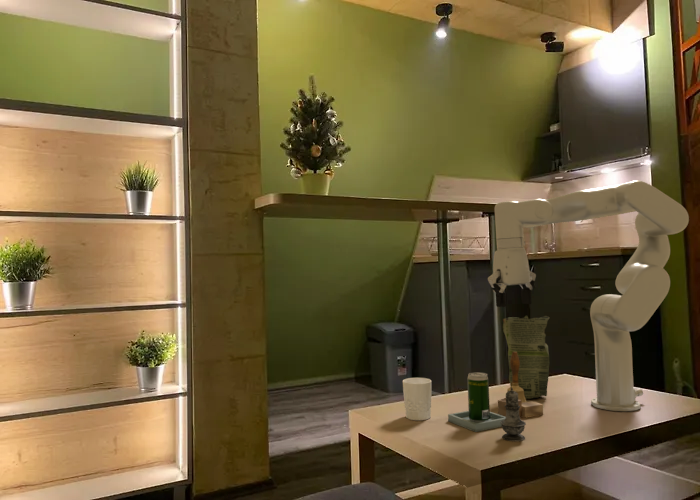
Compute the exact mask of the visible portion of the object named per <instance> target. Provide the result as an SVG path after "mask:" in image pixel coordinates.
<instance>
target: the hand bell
mask: <svg viewBox="0 0 700 500" xmlns="http://www.w3.org/2000/svg"><path fill="white" fill-rule="evenodd" d="M510 366H511V370H512V380H513V381H512V386H510V387H508V388H507V390H506V391H507V392H508V391H510V390H511V387H512V388H513V391H515V392H517V393H518V400H522V403H524V402H528V400H527V399H525V395H524V390H523V389H522V388H521V387H519V385H518V371H519V367H520V361H519V357H518V354H517V352H512V356H511V360H510ZM507 392H506V393H507Z"/></svg>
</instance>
